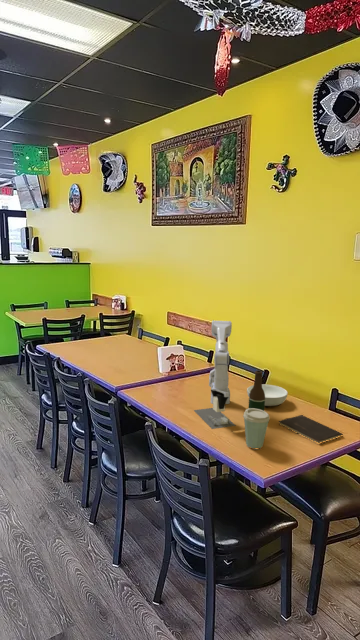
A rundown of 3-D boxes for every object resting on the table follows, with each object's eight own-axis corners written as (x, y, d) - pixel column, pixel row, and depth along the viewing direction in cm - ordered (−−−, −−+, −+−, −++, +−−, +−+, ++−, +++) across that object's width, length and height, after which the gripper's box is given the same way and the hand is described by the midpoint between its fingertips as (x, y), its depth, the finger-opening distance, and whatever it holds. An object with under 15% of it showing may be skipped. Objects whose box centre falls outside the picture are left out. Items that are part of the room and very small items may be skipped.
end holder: (222, 417, 196) (222, 413, 196) (229, 424, 190) (229, 419, 189) (207, 419, 194) (208, 415, 193) (214, 425, 187) (214, 421, 187)
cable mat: (215, 409, 209) (215, 407, 209) (236, 427, 188) (236, 425, 188) (193, 412, 205) (193, 410, 204) (211, 431, 184) (212, 428, 184)
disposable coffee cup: (264, 440, 177) (266, 407, 174) (270, 452, 166) (273, 417, 164) (239, 440, 177) (241, 406, 174) (244, 452, 166) (246, 417, 163)
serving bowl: (264, 393, 234) (265, 381, 233) (294, 405, 218) (296, 392, 217) (238, 400, 222) (238, 388, 221) (267, 413, 206) (268, 400, 204)
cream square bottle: (220, 407, 193) (221, 393, 192) (224, 411, 189) (225, 396, 188) (212, 408, 192) (213, 394, 191) (216, 412, 188) (217, 397, 187)
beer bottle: (251, 424, 193) (254, 374, 189) (244, 417, 200) (247, 369, 196) (266, 422, 195) (270, 373, 191) (259, 416, 202) (262, 368, 198)
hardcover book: (318, 446, 174) (318, 441, 174) (278, 425, 194) (278, 420, 193) (342, 438, 183) (343, 433, 182) (302, 419, 202) (302, 414, 202)
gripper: (206, 374, 193) (204, 401, 196) (219, 384, 180) (218, 413, 182) (219, 372, 196) (218, 400, 198) (234, 382, 182) (232, 412, 185)
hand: (219, 406), depth 190 cm, fingers closed on cream square bottle, 4 cm apart
